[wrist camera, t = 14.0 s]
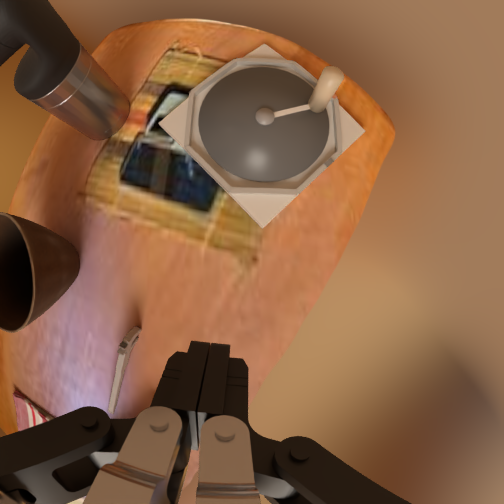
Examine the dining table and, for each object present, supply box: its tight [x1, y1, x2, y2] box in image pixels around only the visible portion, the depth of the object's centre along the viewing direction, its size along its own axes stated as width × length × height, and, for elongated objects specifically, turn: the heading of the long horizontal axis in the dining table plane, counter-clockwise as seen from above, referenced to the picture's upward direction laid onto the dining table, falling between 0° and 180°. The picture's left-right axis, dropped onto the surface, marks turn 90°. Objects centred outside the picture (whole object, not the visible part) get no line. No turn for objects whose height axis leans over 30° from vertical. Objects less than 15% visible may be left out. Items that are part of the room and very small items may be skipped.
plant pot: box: [0, 212, 80, 333], centre depth 30 cm, size 15×15×16 cm
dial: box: [198, 66, 344, 182], centre depth 31 cm, size 19×19×10 cm
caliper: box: [108, 326, 141, 414], centre depth 36 cm, size 20×1×6 cm, turn 155°
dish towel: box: [13, 390, 54, 431], centre depth 39 cm, size 17×23×3 cm
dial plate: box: [159, 44, 365, 229], centre depth 36 cm, size 22×22×3 cm
